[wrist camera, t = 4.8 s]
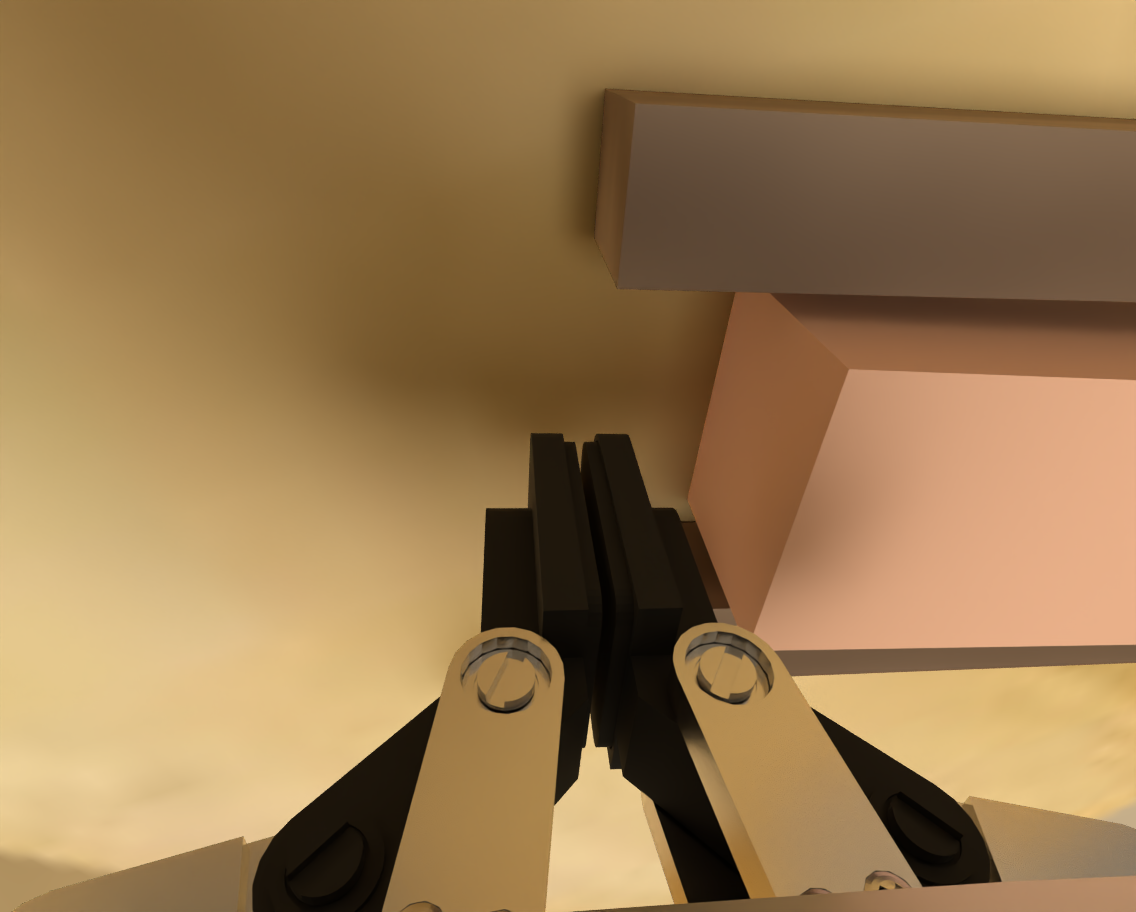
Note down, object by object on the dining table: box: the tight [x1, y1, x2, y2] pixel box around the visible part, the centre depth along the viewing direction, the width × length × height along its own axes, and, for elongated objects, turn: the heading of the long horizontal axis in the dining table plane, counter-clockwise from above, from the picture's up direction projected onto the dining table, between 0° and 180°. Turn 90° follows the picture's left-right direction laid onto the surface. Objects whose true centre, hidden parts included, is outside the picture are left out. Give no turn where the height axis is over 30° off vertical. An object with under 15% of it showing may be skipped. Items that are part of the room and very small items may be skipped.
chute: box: [594, 89, 1136, 676], centre depth 14 cm, size 12×16×3 cm
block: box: [687, 292, 1136, 651], centre depth 13 cm, size 6×10×5 cm, turn 85°
